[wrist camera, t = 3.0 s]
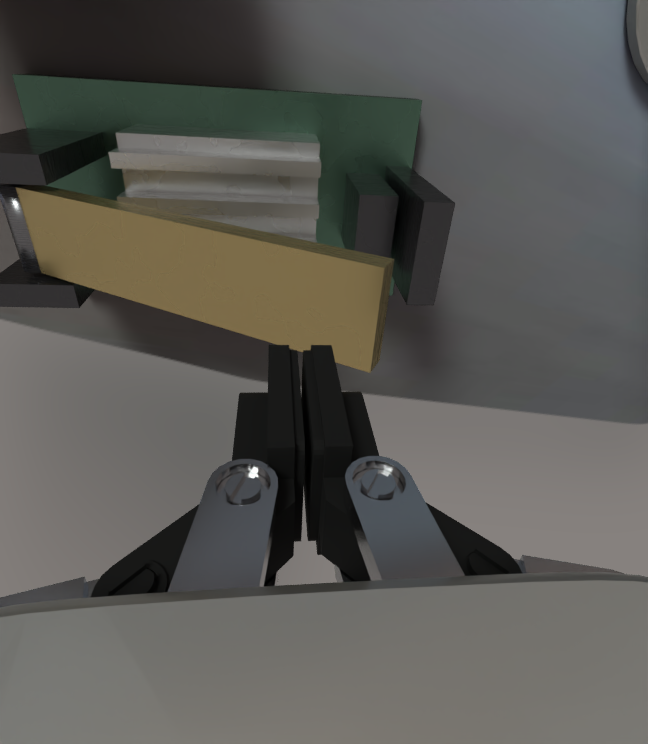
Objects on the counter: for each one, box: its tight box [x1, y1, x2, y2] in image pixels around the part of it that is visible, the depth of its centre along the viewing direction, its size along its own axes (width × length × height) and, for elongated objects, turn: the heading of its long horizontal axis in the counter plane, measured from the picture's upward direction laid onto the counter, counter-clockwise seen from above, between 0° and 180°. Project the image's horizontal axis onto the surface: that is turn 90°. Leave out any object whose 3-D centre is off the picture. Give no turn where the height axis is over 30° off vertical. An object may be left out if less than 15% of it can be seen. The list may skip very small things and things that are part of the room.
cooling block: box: [0, 74, 455, 308], centre depth 25 cm, size 22×12×10 cm, turn 87°
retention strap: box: [0, 184, 394, 373], centre depth 19 cm, size 19×4×2 cm
